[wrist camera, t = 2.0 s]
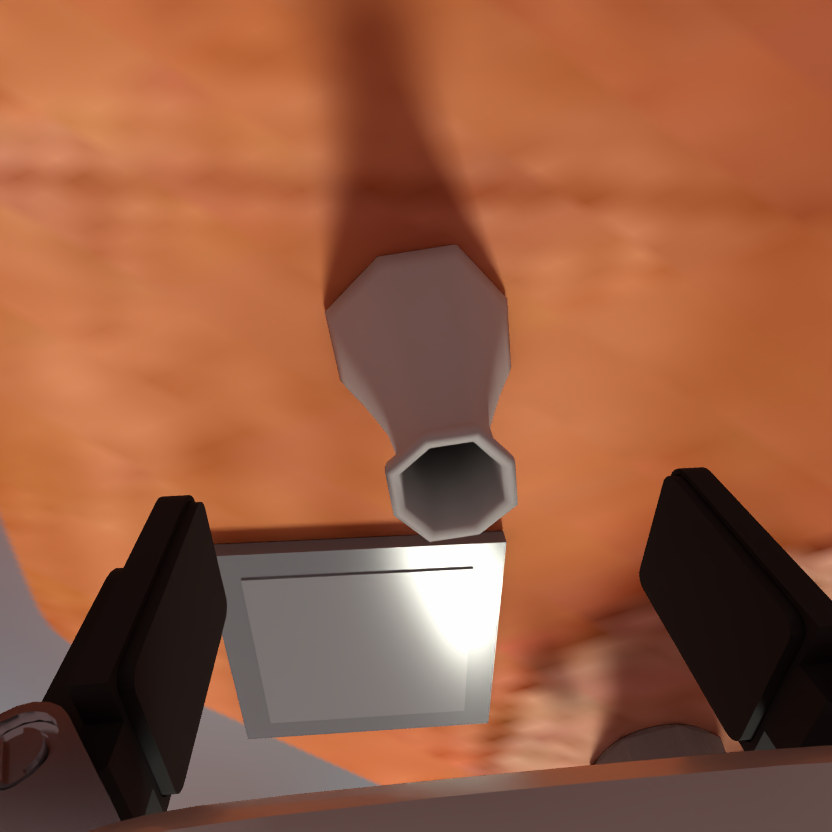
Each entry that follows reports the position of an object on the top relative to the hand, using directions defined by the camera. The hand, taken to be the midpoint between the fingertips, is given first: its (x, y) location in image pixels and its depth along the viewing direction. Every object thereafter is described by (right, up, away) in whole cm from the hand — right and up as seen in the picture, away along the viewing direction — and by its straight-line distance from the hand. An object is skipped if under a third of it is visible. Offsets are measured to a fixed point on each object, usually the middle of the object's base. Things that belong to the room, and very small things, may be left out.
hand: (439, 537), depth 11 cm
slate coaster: (-3, -9, +19) cm, 21 cm away
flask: (0, +6, +11) cm, 12 cm away
